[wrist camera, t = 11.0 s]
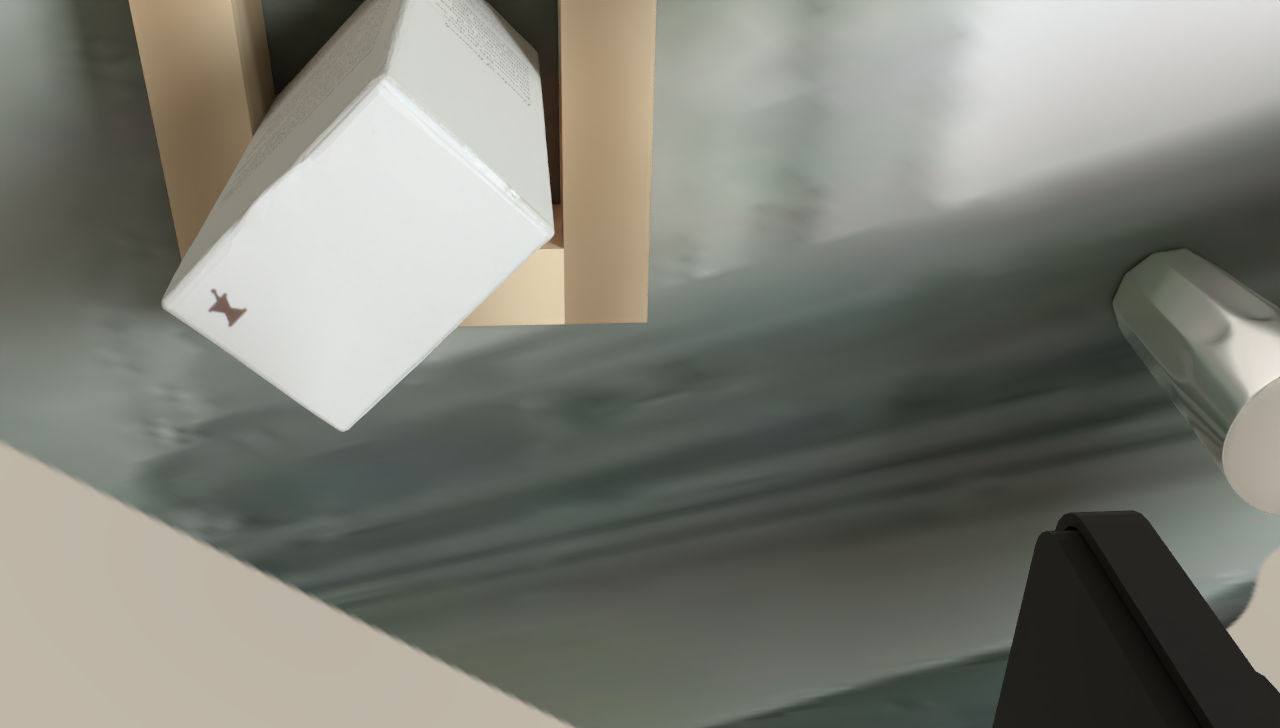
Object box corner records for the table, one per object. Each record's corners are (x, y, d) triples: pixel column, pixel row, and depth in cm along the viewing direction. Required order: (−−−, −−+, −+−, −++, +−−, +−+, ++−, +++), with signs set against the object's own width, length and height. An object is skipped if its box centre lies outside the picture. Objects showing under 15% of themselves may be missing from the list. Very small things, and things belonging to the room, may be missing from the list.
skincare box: (397, 202, 32) (338, 446, 22) (273, 96, 30) (143, 307, 20) (549, 50, 30) (563, 238, 20) (427, -72, 28) (372, 65, 18)
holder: (647, -172, 27) (660, -157, 25) (637, 274, 34) (646, 322, 31) (136, -180, 26) (94, -166, 24) (221, 281, 33) (195, 332, 30)
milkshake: (1248, 340, 37) (1466, 538, 28) (1085, 366, 37) (1255, 572, 28) (1270, 213, 34) (1516, 386, 26) (1096, 240, 34) (1286, 423, 26)
